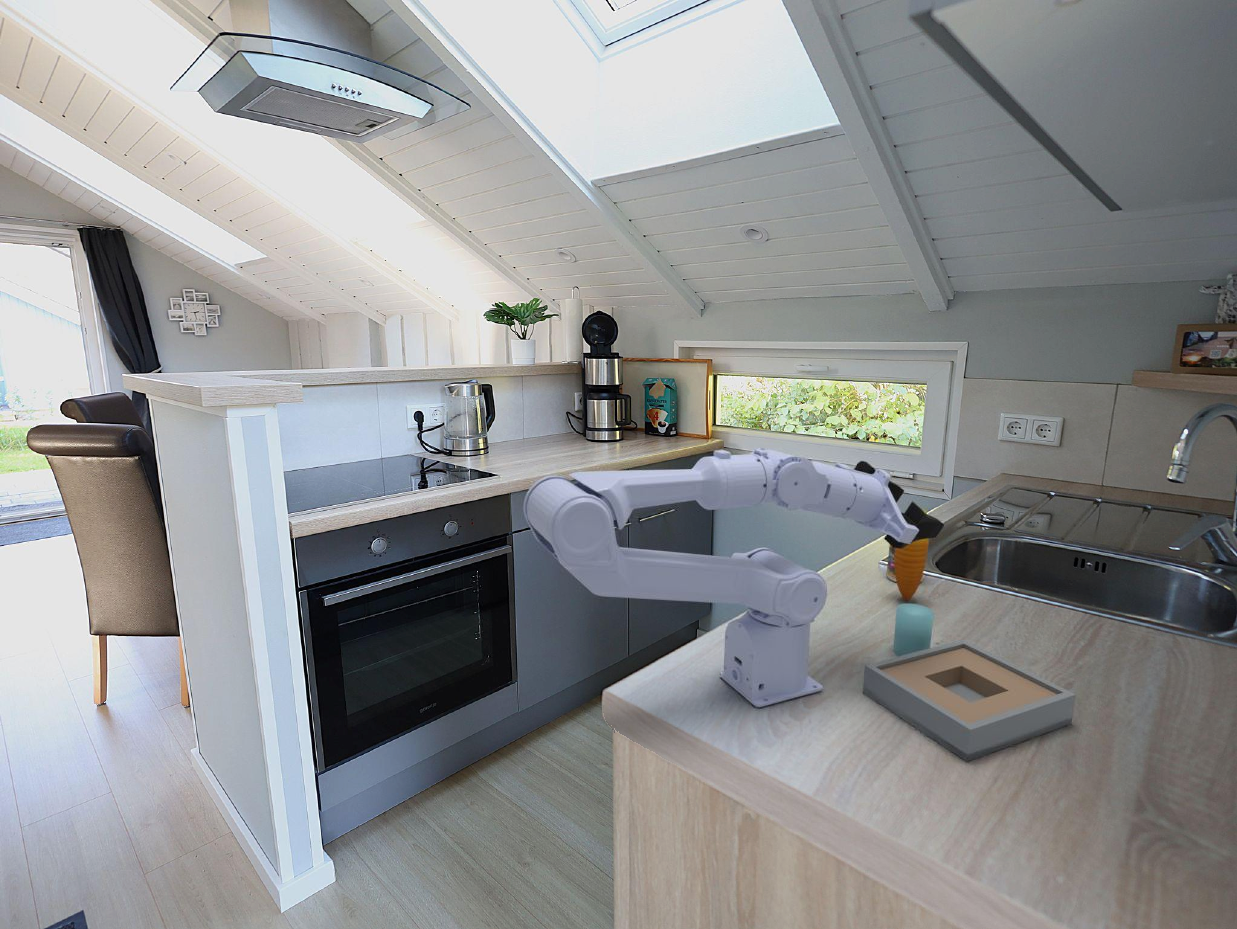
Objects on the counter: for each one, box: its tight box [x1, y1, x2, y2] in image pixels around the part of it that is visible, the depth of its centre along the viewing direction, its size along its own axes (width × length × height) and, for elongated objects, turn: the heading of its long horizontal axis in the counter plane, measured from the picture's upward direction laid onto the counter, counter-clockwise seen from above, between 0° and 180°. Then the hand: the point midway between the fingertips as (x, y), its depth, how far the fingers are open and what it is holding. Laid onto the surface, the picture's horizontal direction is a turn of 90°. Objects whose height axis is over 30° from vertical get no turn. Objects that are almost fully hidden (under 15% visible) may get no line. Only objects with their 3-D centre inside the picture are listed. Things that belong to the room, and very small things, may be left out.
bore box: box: [862, 639, 1077, 763], centre depth 75 cm, size 16×14×4 cm
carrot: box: [894, 509, 930, 602], centre depth 104 cm, size 5×5×15 cm
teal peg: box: [892, 603, 935, 657], centre depth 88 cm, size 4×4×6 cm
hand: (917, 512), depth 85 cm, fingers open, 7 cm apart
